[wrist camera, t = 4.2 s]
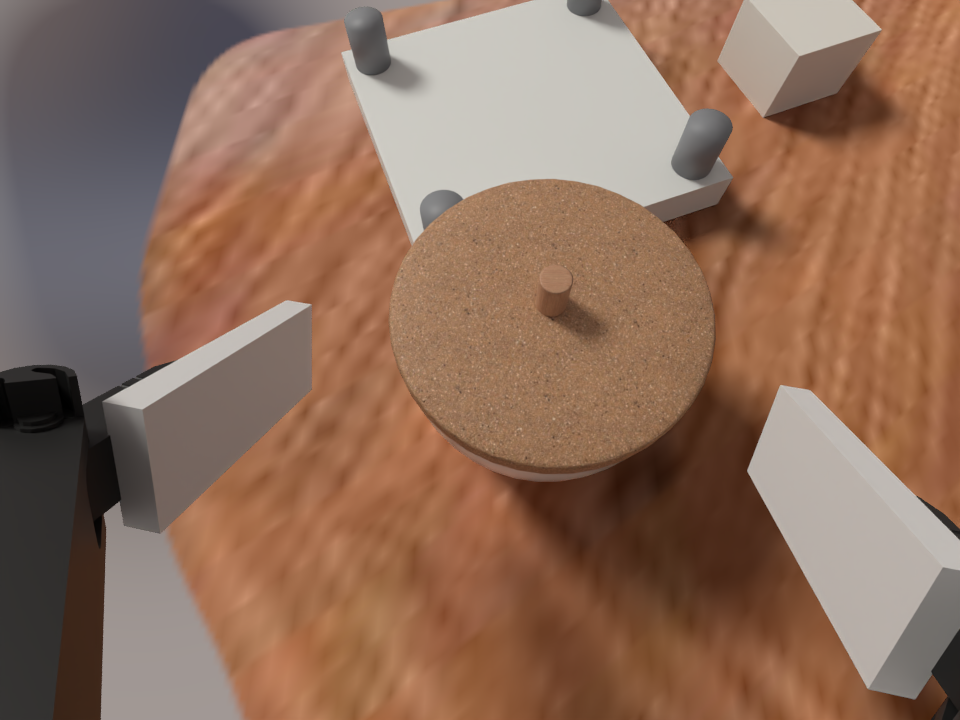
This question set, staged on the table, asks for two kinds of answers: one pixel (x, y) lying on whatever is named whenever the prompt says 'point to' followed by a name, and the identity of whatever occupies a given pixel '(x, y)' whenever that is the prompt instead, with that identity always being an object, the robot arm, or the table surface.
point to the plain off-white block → (795, 50)
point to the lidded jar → (551, 328)
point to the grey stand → (529, 110)
